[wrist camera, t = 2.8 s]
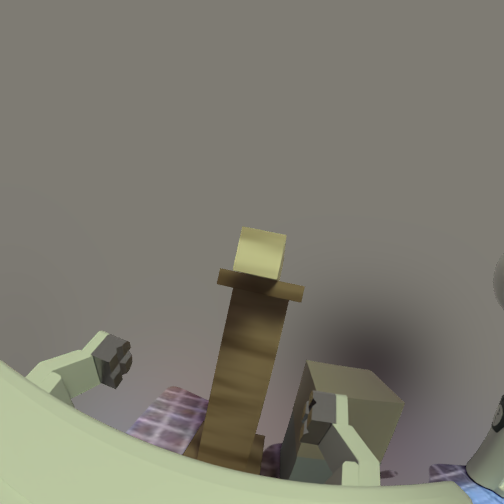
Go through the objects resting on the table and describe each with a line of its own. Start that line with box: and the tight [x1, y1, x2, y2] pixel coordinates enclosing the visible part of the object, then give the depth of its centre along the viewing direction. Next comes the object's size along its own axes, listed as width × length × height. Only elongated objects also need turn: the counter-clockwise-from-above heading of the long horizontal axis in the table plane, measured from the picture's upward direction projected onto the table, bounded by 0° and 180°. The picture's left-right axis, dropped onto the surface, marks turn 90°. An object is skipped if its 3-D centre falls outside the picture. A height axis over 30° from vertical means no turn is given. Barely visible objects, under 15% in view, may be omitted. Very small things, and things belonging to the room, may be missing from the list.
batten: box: [233, 227, 286, 281], centre depth 31 cm, size 22×3×3 cm, turn 174°
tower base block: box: [280, 412, 381, 484], centre depth 33 cm, size 14×10×8 cm
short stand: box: [183, 268, 304, 475], centre depth 35 cm, size 16×10×26 cm, turn 174°
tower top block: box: [293, 360, 405, 463], centre depth 33 cm, size 14×10×8 cm
